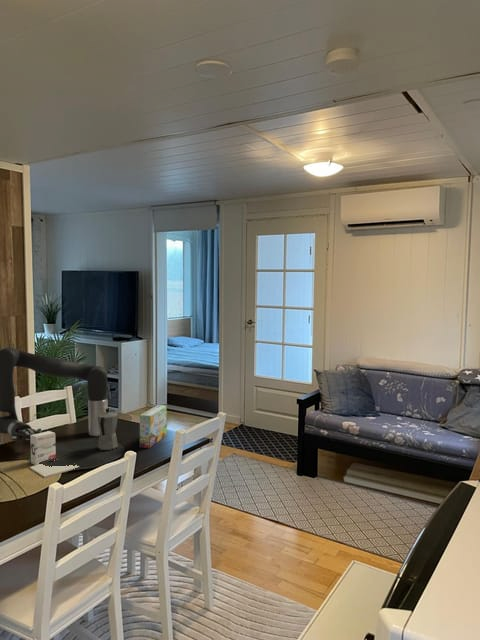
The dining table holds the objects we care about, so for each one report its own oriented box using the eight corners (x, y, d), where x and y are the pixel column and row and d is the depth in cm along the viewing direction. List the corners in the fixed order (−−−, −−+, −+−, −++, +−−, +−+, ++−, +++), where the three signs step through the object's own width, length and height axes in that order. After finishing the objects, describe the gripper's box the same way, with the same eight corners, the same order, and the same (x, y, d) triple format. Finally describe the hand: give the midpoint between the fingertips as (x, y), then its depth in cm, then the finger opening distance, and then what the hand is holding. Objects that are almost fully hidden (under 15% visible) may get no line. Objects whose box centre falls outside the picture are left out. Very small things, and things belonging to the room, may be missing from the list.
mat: (63, 459, 195) (63, 458, 195) (79, 467, 186) (79, 466, 186) (29, 468, 185) (29, 466, 185) (44, 477, 176) (44, 476, 176)
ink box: (50, 457, 198) (49, 430, 197) (56, 460, 195) (55, 432, 194) (30, 463, 191) (29, 434, 191) (36, 465, 188) (35, 437, 187)
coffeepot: (102, 443, 217) (101, 404, 216) (122, 443, 217) (121, 405, 216) (91, 454, 202) (90, 413, 201) (112, 454, 202) (112, 413, 201)
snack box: (150, 448, 209) (150, 415, 209) (139, 448, 211) (138, 414, 210) (167, 435, 230) (167, 404, 229) (156, 434, 231) (156, 404, 231)
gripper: (3, 425, 205) (18, 433, 193) (34, 419, 214) (50, 426, 202) (4, 441, 205) (19, 450, 193) (34, 435, 215) (50, 443, 203)
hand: (35, 438), depth 198 cm, fingers closed
